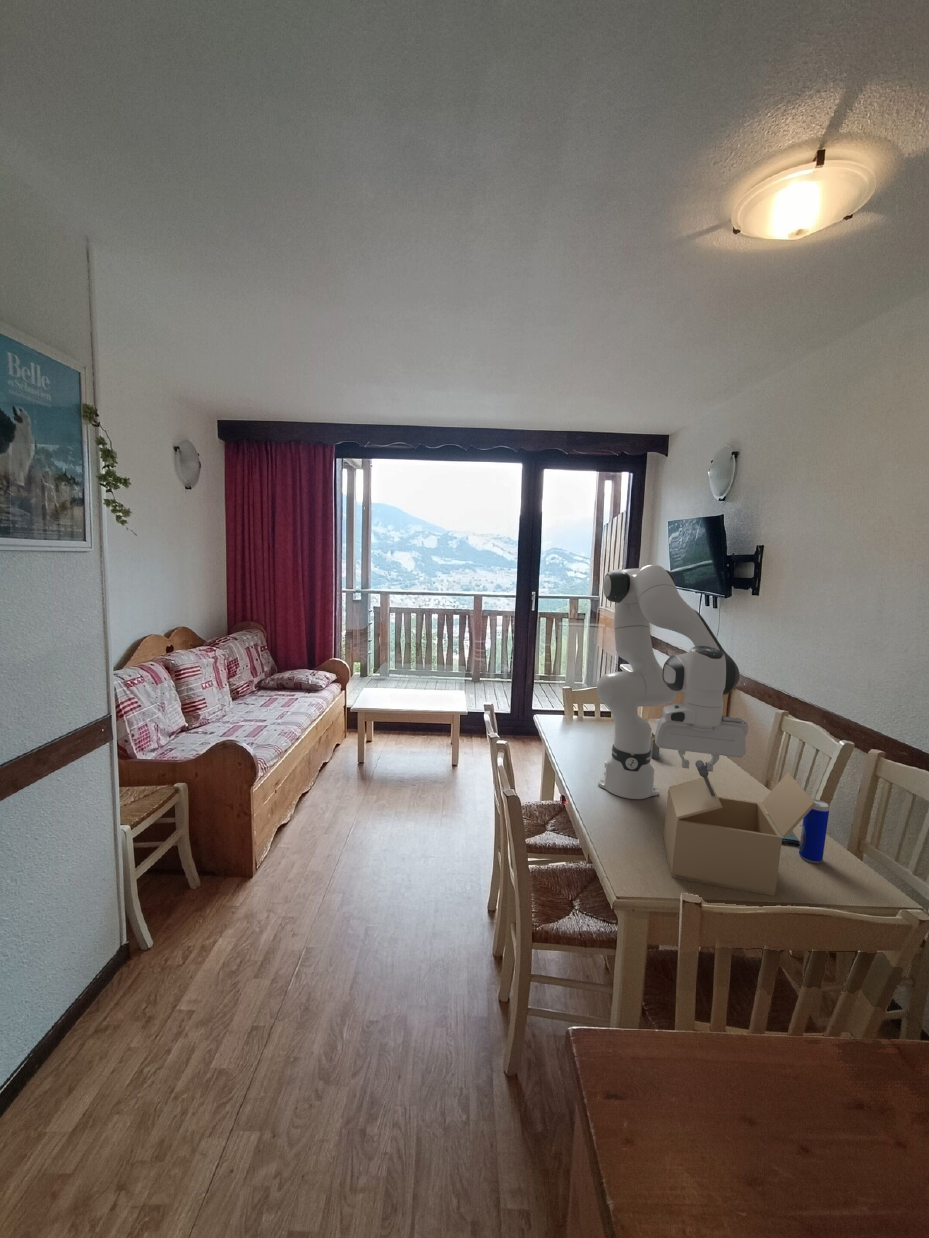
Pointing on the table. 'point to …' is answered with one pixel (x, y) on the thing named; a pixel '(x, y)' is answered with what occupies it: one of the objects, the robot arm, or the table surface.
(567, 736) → the table surface
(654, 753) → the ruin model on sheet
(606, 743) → the table surface
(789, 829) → the flap
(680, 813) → the flap
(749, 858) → the carton
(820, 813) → the beverage can
